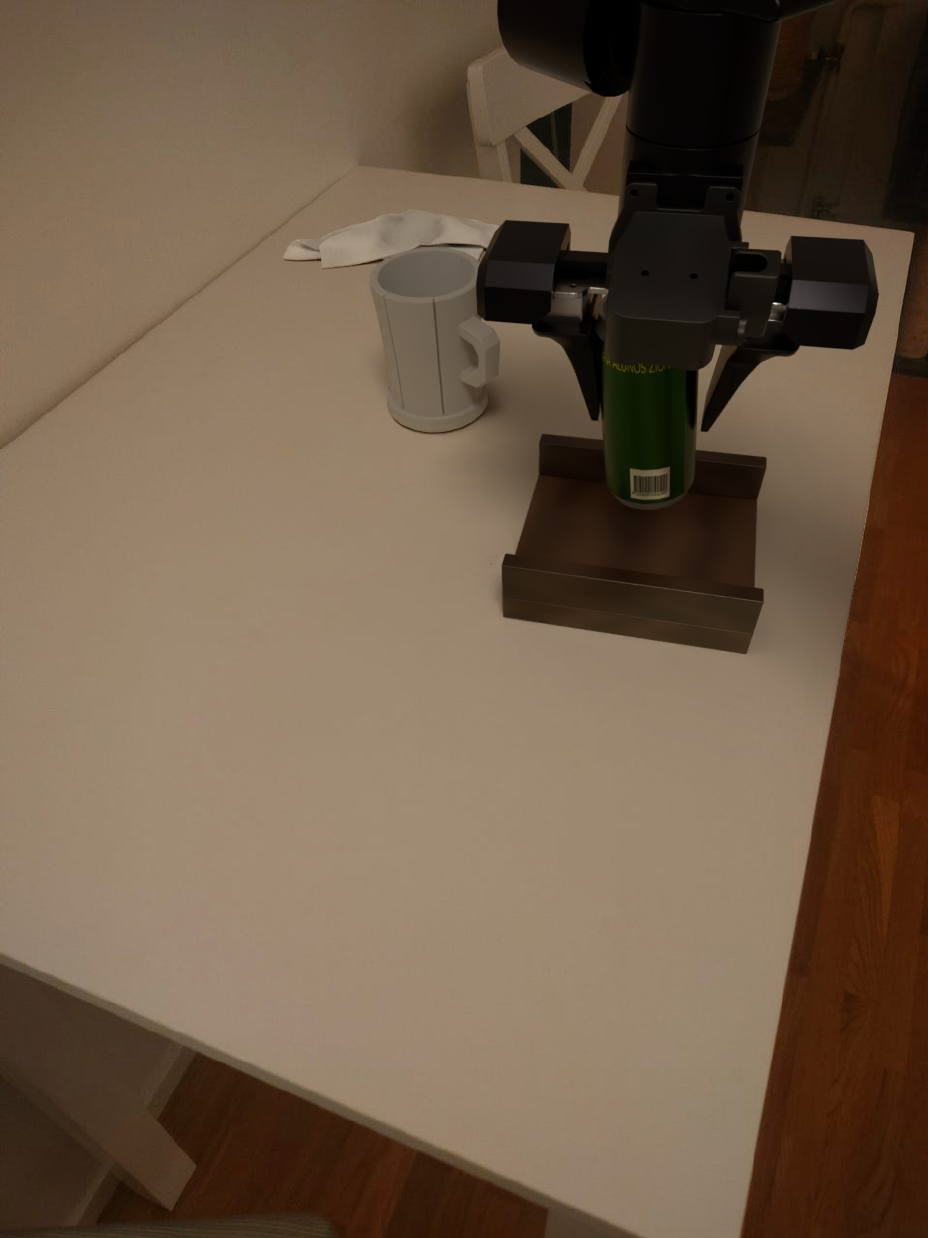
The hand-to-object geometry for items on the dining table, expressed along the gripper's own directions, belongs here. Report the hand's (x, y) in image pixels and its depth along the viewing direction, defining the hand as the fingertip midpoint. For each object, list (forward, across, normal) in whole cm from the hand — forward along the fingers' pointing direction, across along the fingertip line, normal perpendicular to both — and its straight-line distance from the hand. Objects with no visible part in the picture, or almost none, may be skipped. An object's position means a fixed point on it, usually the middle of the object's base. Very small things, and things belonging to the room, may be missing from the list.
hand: (649, 422), depth 47 cm
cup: (+14, -18, +18) cm, 29 cm away
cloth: (+14, -30, +48) cm, 58 cm away
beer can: (+5, +1, 0) cm, 5 cm away
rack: (+13, 0, +2) cm, 13 cm away
